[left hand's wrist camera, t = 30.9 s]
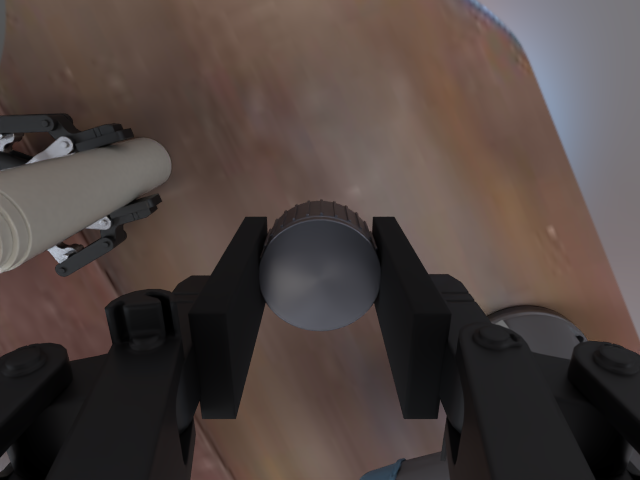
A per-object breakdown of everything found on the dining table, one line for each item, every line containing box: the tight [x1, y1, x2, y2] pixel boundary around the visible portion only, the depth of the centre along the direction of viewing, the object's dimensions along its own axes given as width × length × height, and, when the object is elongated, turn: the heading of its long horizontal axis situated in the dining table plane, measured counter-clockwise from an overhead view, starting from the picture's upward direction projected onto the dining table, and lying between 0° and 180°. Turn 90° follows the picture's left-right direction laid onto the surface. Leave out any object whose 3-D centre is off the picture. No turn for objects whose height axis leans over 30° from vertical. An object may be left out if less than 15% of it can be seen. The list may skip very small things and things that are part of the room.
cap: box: [259, 200, 381, 331], centre depth 13 cm, size 4×4×2 cm
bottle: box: [0, 137, 171, 273], centre depth 26 cm, size 5×5×25 cm
